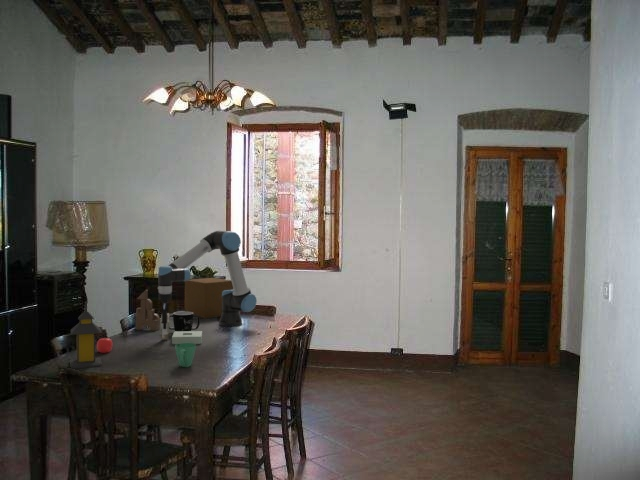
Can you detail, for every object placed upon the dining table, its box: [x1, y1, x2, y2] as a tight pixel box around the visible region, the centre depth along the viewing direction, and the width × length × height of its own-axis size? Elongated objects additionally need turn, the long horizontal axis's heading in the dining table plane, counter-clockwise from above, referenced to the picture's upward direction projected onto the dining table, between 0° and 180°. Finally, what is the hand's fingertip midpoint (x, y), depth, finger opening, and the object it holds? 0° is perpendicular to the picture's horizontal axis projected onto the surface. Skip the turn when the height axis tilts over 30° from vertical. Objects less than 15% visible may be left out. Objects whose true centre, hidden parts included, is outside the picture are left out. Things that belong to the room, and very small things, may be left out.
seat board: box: [171, 330, 203, 345], centre depth 345 cm, size 16×16×4 cm
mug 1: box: [169, 311, 201, 331], centre depth 369 cm, size 16×16×12 cm
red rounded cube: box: [96, 336, 114, 354], centre depth 315 cm, size 8×8×8 cm
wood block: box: [184, 277, 234, 320], centre depth 435 cm, size 25×25×25 cm
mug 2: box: [174, 343, 197, 368], centre depth 287 cm, size 15×10×10 cm
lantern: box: [69, 301, 103, 369], centre depth 289 cm, size 14×14×30 cm
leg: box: [160, 312, 170, 340], centre depth 347 cm, size 4×4×14 cm
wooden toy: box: [134, 289, 161, 332], centre depth 377 cm, size 15×7×25 cm, turn 81°
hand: (165, 333), depth 347 cm, fingers closed on leg, 4 cm apart
